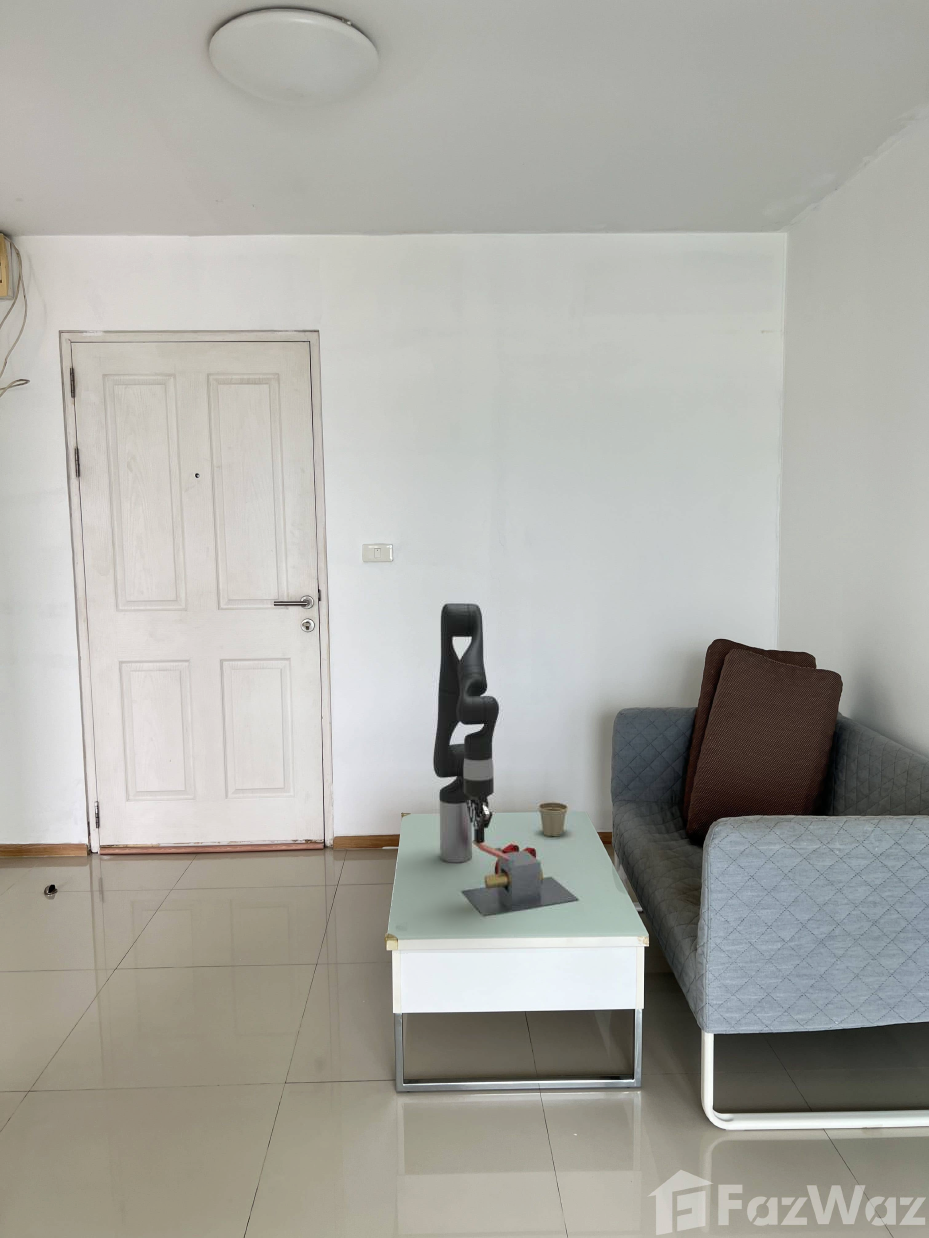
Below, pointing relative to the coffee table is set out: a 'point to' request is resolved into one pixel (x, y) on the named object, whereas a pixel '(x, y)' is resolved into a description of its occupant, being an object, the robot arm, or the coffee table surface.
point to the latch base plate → (519, 888)
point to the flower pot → (552, 817)
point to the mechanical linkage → (514, 848)
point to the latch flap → (491, 851)
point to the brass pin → (500, 880)
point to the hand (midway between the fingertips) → (479, 842)
